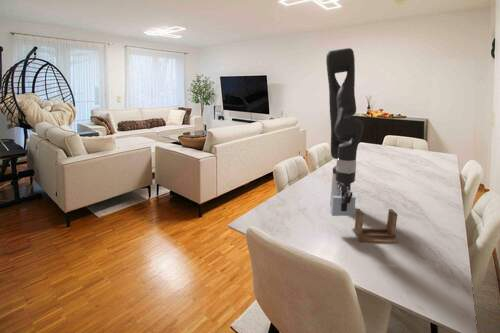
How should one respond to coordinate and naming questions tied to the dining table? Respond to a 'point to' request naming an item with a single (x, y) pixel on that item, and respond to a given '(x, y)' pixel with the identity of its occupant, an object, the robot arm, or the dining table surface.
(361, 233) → the frame
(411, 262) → the dining table surface
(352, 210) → the door panel
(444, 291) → the dining table surface
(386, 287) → the dining table surface
